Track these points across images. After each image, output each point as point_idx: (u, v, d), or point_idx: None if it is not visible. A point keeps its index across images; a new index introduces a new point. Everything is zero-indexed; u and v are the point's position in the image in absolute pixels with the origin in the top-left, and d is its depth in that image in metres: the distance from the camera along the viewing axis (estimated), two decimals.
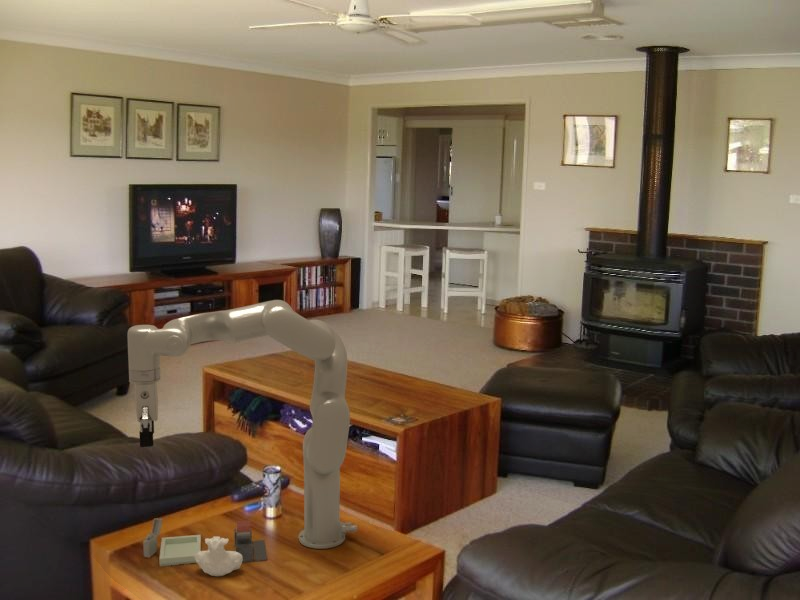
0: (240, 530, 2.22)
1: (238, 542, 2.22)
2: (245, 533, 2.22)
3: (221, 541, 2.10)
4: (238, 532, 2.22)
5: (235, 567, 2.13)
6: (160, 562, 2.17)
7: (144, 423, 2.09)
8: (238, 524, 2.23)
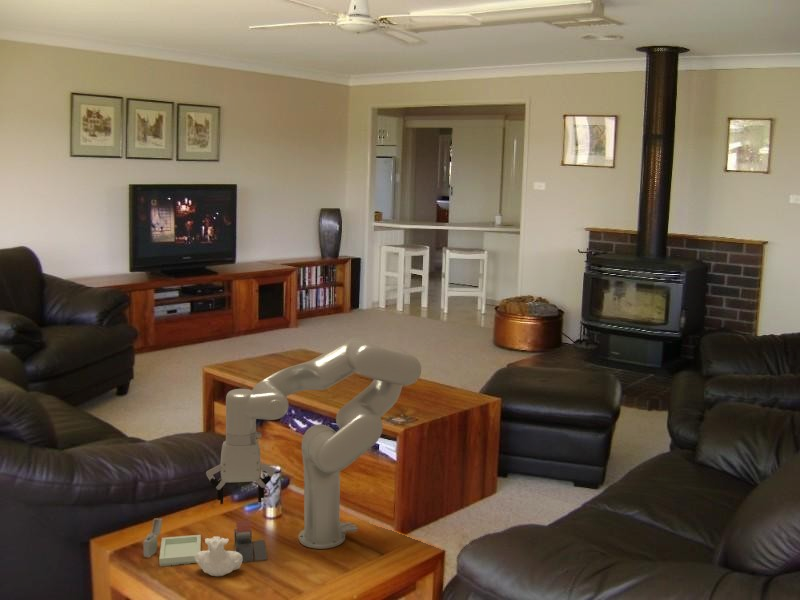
0: (240, 530, 2.22)
1: (238, 542, 2.22)
2: (245, 533, 2.22)
3: (221, 541, 2.10)
4: (238, 532, 2.22)
5: (235, 567, 2.13)
6: (160, 562, 2.17)
7: None
8: (238, 524, 2.23)
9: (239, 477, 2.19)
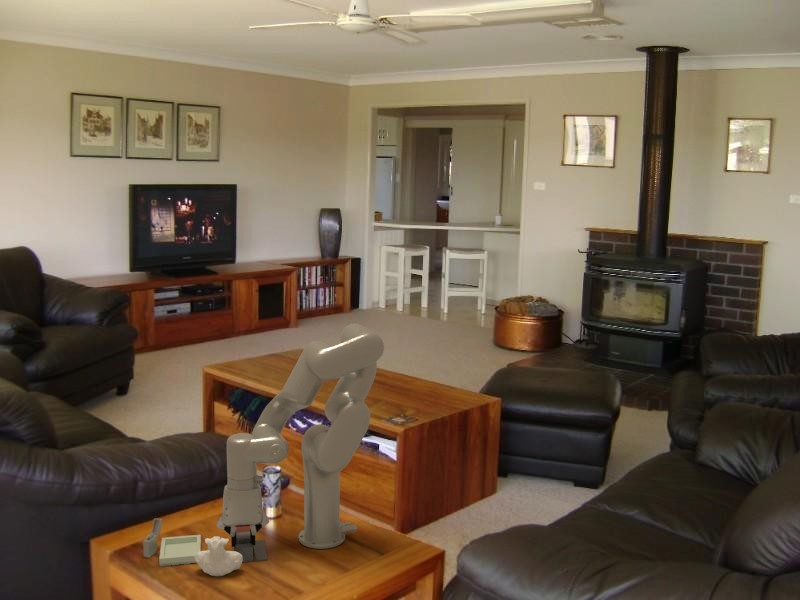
0: (240, 530, 2.22)
1: (238, 542, 2.22)
2: (245, 533, 2.22)
3: (221, 541, 2.10)
4: (238, 532, 2.22)
5: (235, 567, 2.13)
6: (160, 562, 2.17)
7: None
8: None
9: (241, 521, 2.21)
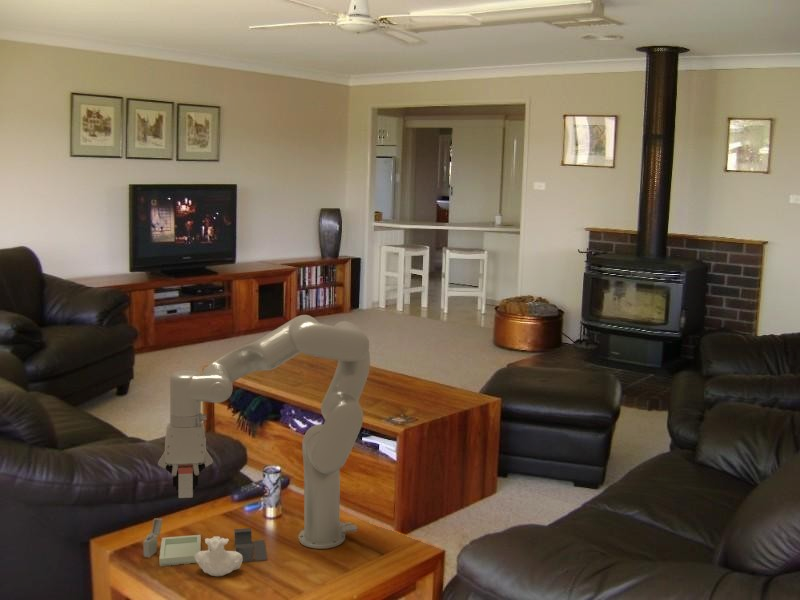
0: (182, 471, 2.18)
1: (180, 484, 2.18)
2: (187, 474, 2.18)
3: (221, 541, 2.10)
4: (180, 473, 2.18)
5: (235, 567, 2.13)
6: (160, 562, 2.17)
7: None
8: (180, 465, 2.19)
9: (183, 459, 2.17)
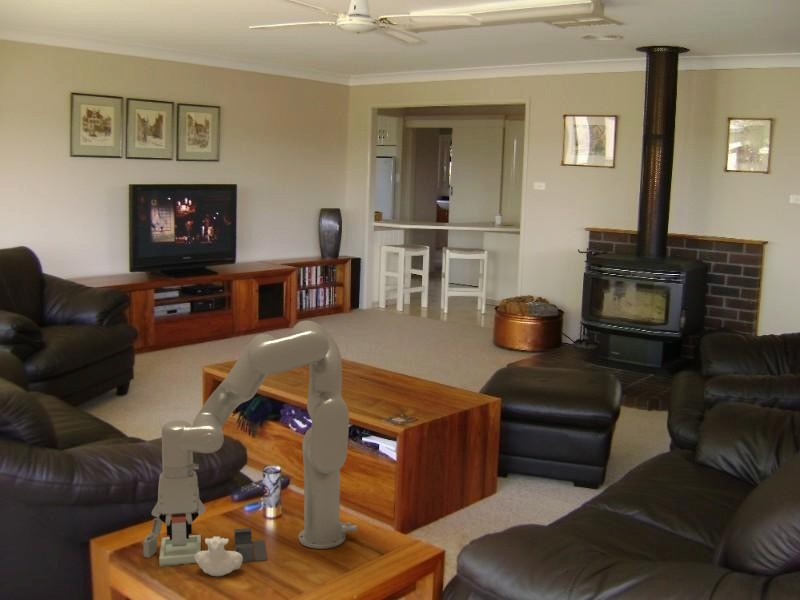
0: (175, 521, 2.20)
1: (173, 533, 2.20)
2: (180, 523, 2.20)
3: (221, 541, 2.10)
4: (173, 523, 2.20)
5: (235, 567, 2.13)
6: (160, 562, 2.17)
7: None
8: (173, 514, 2.21)
9: (176, 509, 2.19)
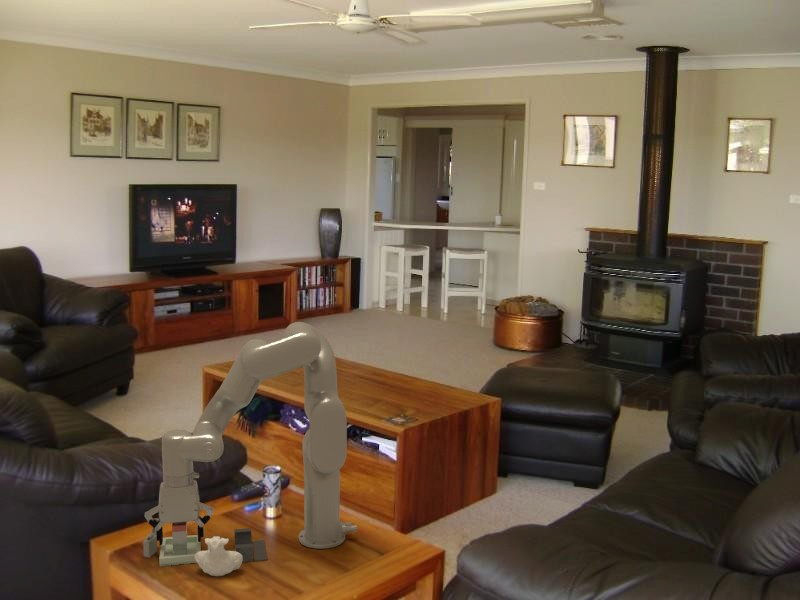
0: (176, 529, 2.20)
1: (174, 541, 2.21)
2: (181, 532, 2.21)
3: (221, 541, 2.10)
4: (174, 531, 2.20)
5: (235, 567, 2.13)
6: (160, 562, 2.17)
7: None
8: (174, 523, 2.22)
9: (177, 518, 2.19)
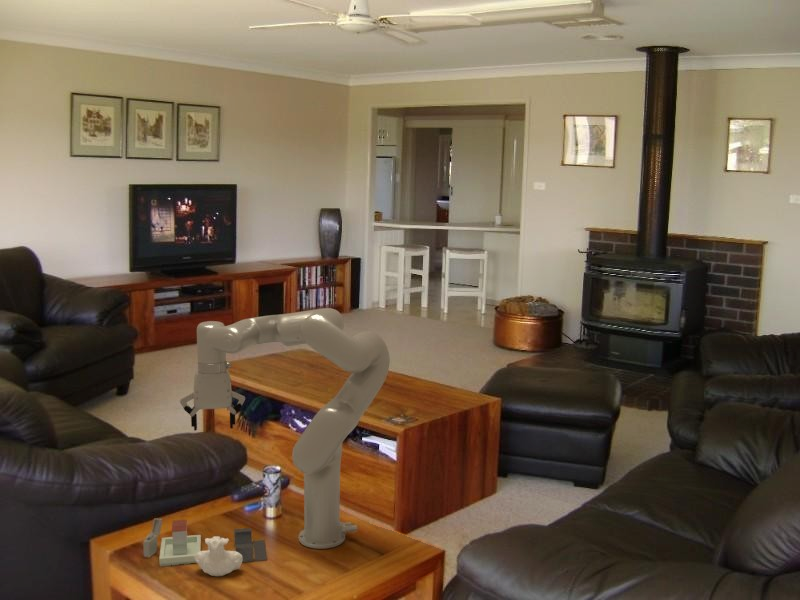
0: (176, 529, 2.20)
1: (174, 541, 2.21)
2: (181, 532, 2.21)
3: (221, 541, 2.10)
4: (174, 531, 2.20)
5: (235, 567, 2.13)
6: (160, 562, 2.17)
7: None
8: (174, 523, 2.22)
9: (211, 404, 2.32)
